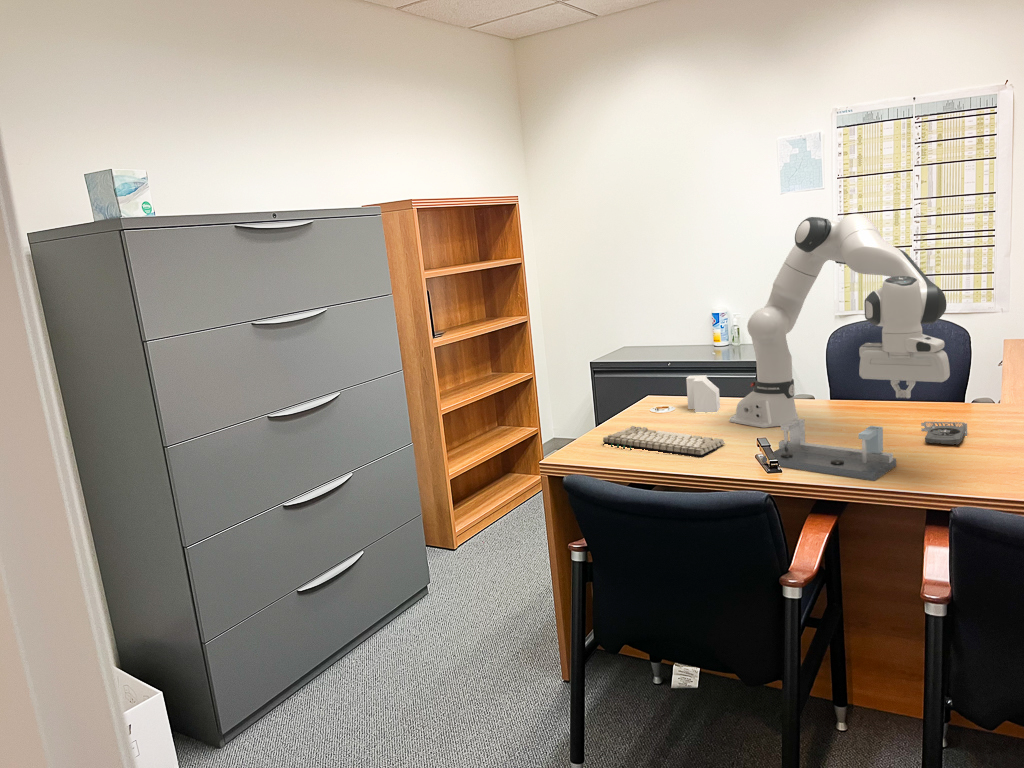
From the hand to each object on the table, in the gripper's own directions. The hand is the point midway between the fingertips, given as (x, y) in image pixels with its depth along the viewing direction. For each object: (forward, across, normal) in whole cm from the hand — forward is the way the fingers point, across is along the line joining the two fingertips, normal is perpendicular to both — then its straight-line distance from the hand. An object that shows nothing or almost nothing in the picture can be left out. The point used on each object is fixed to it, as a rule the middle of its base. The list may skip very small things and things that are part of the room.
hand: (903, 397), depth 187 cm
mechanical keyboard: (+20, -70, -5) cm, 73 cm away
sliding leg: (+16, -7, -2) cm, 18 cm away
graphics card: (+20, -2, +34) cm, 39 cm away
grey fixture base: (+19, -18, -3) cm, 27 cm away
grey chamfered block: (+19, -84, +40) cm, 95 cm away
